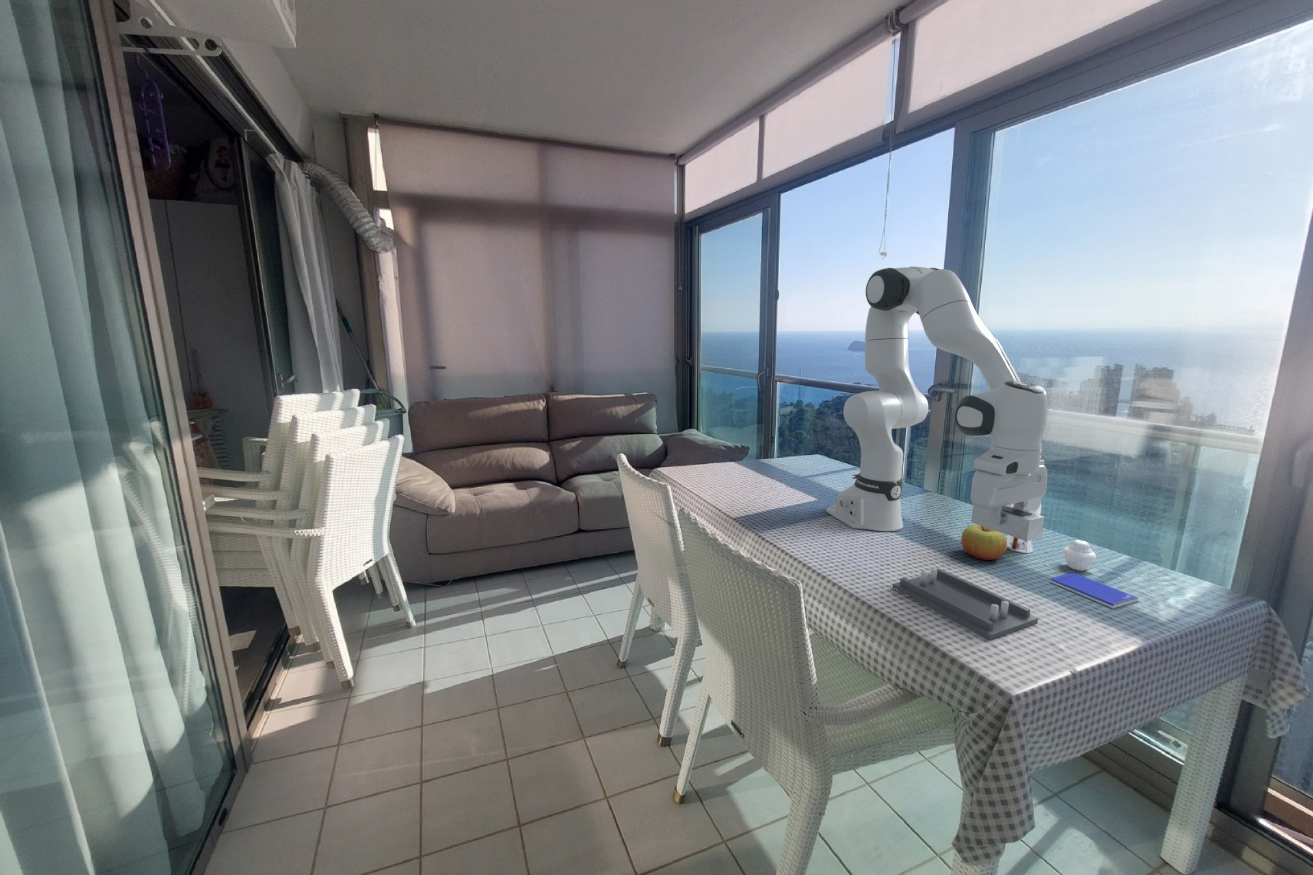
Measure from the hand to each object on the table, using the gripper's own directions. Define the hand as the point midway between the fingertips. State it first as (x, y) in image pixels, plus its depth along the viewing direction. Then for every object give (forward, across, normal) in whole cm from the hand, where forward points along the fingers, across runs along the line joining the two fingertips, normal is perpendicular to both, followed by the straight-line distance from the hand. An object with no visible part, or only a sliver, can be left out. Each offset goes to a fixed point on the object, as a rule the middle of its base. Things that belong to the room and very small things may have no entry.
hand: (1005, 521), depth 115 cm
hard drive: (+16, -16, +10) cm, 25 cm away
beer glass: (+15, -25, -11) cm, 31 cm away
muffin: (+15, -26, +2) cm, 30 cm away
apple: (+15, -12, -12) cm, 23 cm away
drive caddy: (+2, 0, 0) cm, 2 cm away
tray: (+15, +15, +2) cm, 21 cm away
